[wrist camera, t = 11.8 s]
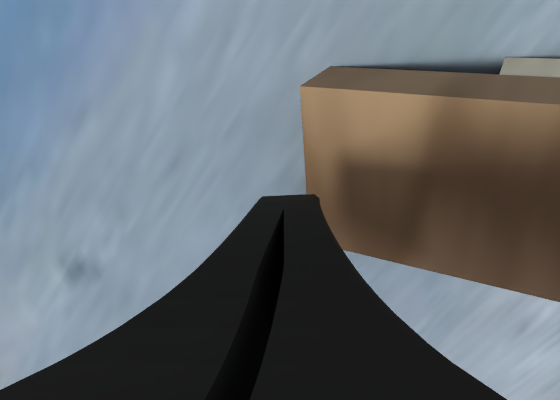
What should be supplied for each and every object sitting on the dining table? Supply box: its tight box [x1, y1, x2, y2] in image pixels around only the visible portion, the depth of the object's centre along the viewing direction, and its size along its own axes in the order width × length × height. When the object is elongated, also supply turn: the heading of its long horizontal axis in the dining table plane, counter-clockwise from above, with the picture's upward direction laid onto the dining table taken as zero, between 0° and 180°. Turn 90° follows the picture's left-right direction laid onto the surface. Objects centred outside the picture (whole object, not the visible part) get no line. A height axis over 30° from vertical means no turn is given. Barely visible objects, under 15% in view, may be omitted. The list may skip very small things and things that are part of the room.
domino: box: [300, 66, 560, 302], centre depth 12 cm, size 5×2×7 cm
